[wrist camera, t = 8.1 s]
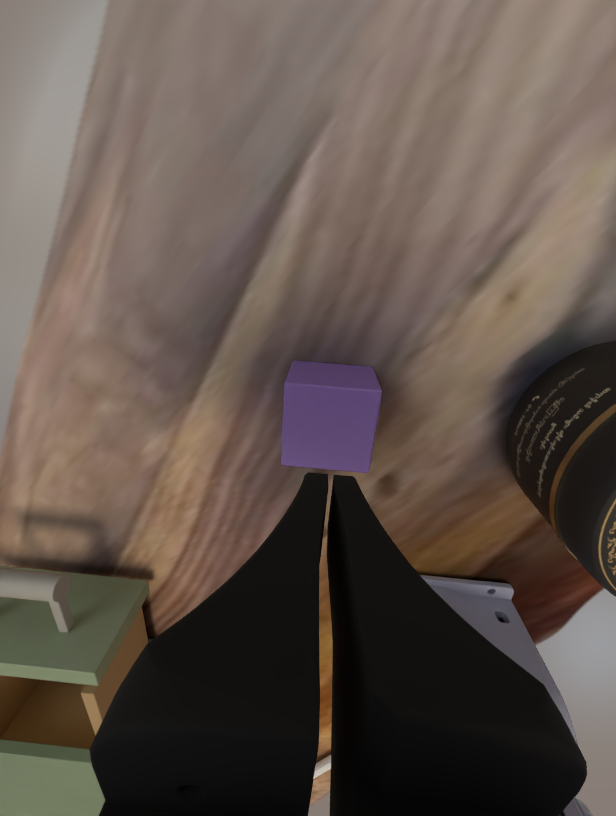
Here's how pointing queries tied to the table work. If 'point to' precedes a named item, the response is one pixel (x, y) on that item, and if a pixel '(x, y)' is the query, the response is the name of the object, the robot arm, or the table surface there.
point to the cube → (330, 416)
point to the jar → (572, 455)
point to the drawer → (64, 651)
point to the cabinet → (47, 780)
